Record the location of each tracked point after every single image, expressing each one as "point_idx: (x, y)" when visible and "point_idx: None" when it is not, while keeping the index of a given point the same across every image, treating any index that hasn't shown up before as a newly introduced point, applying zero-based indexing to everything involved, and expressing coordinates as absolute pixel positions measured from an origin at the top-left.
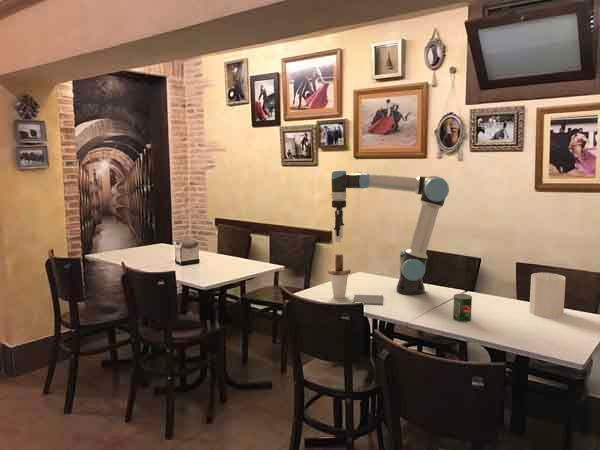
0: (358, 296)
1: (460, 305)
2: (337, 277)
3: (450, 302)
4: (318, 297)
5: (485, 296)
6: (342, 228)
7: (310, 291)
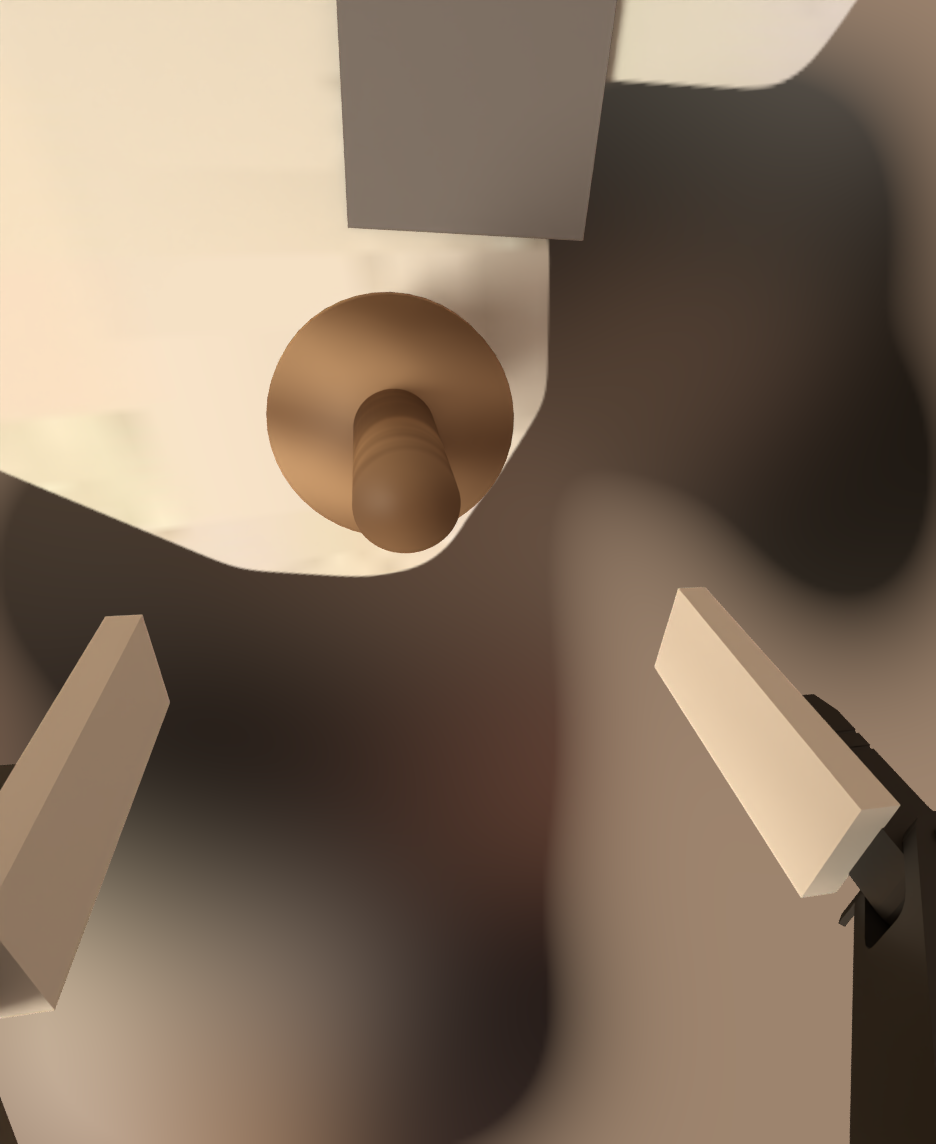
0: (403, 185)
1: None
2: None
3: None
4: None
5: None
6: (33, 828)
7: (295, 569)
